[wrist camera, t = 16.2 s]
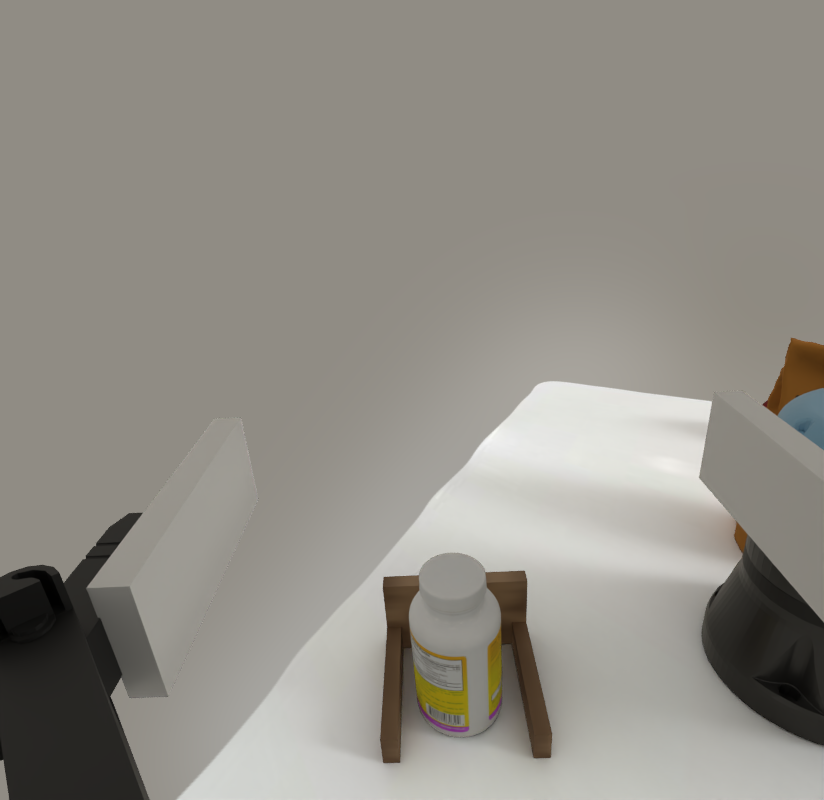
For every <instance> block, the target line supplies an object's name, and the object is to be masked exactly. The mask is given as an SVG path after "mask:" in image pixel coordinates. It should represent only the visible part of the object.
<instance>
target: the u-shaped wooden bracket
mask: <svg viewBox="0 0 824 800" xmlns="http://www.w3.org/2000/svg"><path fill="white" fill-rule="evenodd" d="M486 584H487V588H488V589H489V590H490V591H491V592H492V594H493V595H494V596H495V598H496V599H497V601H498V604H499V607H500V611H501V644H512V648H513V653H514V658H515V664H516V669H517V674H518V679H519V684H520V690H521V695H522V700H523V705H524V710H525V716H526V721H527V726H528V731H529V736H530V742H531V747H532V752H533V757H534V758H551V744H552V732H551V727H550V723H549V719H548V714H547V710H546V706H545V701H544V697H543V693H542V688H541V684H540V680H539V675H538V671H537V667H536V662H535V658H534V654H533V649H532V645H531V641H530V637H529V632H528V628H527V624H526V608H527V578H526V574H525V571H509V572H486ZM418 591H419V575H417V576H394V577H384V580H383V592H384V601H385V611H386V620H387V641H386V657H385V673H384V689H383V705H382V722H381V738H380V741H381V749H382V756H383V763H400V748H401V711H402V675H403V648H412V643H411V634H410V626H409V610H410V605H411V603H412V600H413V598H414V597H415V595H416V594H417V593H418Z"/></svg>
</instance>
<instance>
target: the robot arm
mask: <svg viewBox="0 0 824 800" xmlns="http://www.w3.org/2000/svg"><path fill="white" fill-rule="evenodd" d="M699 478H700V479H701V481H702V482H703V483H704V484H705V485H706V486H707V488H708V489H709V490H710V491H711V492H712V493H713V494H714V496H715V497H716V498H717V499H718V500H719V501H720V503H721V504H722V505H723V506H724V507H725V508H726V510H727V511H728V512H729V513H730V514H731V515H732V517H733V518H734V519H735V520H736V521H737V522H738V523H739V525H740V526H741V527H742V528H743V529H744V530H745V532H746V533H747V538H746V543H745V547H744V551H743V556H742V559H741V560H740V561H739V562H738V564H737V565H736V567H735V568H734V570H733V571H732V573H731V574H730V576H729V577H728V578H727V580H726V581H725V583H723V584H722V585H721V586H719V587H718V588H717V590H716V591H715V592H714V593H713V594H712V596H711V598H710V600H709V602H708V604H707V607H706V611H705V616H704V620H703V625H702V642H703V646H704V649H705V652H706V655H707V657H708V659H709V661H710V663H711V665H712V666H713V668H714V670H715V671H716V672H717V674H718V675H719V677H720V678H721V679H722V680H723V682H724V683H725V684H726V685H727V686H728V687H729V688H730V689H731V690H732V691H733V692H734V693H735V694H736V695H737V696H738V697H739V698H740V699H741V700H742V701H744V702H745V703H746V704H747V705H748V706H750V707H751V708H752V709H754V710H755V711H756V712H758V713H759V714H761V715H762V716H763V717H765V718H767V719H768V720H770V721H771V722H773V723H775V724H776V725H778V726H780V727H782V728H784V729H786V730H788V731H790V732H792V733H794V734H796V735H798V736H800V737H803V738H805V739H808V740H810V741H813V742H816V743H819V744H822V745H824V388H821V389H817V390H813V391H810V392H807V393H804V394H802V395H800V396H798V397H796V398H794V399H793V400H791V401H790V402H789V403H787V404H786V405H785V406H784V407H783V408H782V410H781V411H780V412H779V414H778V416H777V415H775V414H774V413H772V412H771V411H770V410H768V409H767V408H766V407H764V406H763V405H762V404H760V403H759V402H758V401H756V400H755V399H753V398H752V397H750V396H749V395H748V394H747V393H745V392H744V391H723V392H714V396H713V401H712V407H711V413H710V418H709V424H708V430H707V435H706V441H705V447H704V453H703V458H702V464H701V470H700V475H699ZM257 501H258V496H257V491H256V486H255V482H254V477H253V472H252V467H251V463H250V458H249V453H248V448H247V444H246V439H245V434H244V429H243V425H242V420H241V417H239V418H223V419H214V420H213V421H212V422H211V424H210V425H209V426H208V428H207V429H206V430H205V432H204V433H203V434H202V436H201V437H200V438H199V440H198V441H197V442H196V444H195V445H194V446H193V448H192V449H191V450H190V452H189V453H188V454H187V456H186V457H185V458H184V460H183V461H182V462H181V464H180V465H179V466H178V468H177V469H176V470H175V471H174V473H173V474H172V475H171V477H170V478H169V479H168V481H167V482H166V483H165V485H164V486H163V487H162V489H161V490H160V491H159V493H158V494H157V495H156V497H155V498H154V499H153V501H152V502H151V503H150V505H149V506H148V507H147V508H146V510H145V511H144V512H143V513H129V514H127V515H126V516H125V517H124V518H122V519H120V520H119V521H118V522H116V523H115V524H113V525H112V526H111V527H109V528H108V530H107V531H106V532H105V534H104V535H103V536H102V537H101V538H100V539H99V541H98V542H97V543H96V546H94V547H93V548H92V549H91V550H90V552H89V553H88V554H87V555H86V559H84V560H82V561H81V563H80V564H79V565H78V566H77V568H76V569H75V570H74V571H73V572H72V574H71V575H70V576H69V577H68V579H67V580H66V581H65V582H64V583H63V581H62V578H61V576H60V574H59V572H58V571H57V570H56V569H55V568H54V567H51V566H45V565H39V566H38V565H37V566H29V567H25V568H22V569H19V570H16V571H13V572H10V573H8V574H6V575H4V576H2V577H0V760H3V759H4V766H5V773H6V780H7V786H8V793H9V800H149V797H148V794H147V792H146V789H145V786H144V784H143V781H142V778H141V776H140V773H139V771H138V768H137V765H136V762H135V760H134V757H133V754H132V752H131V749H130V746H129V744H128V741H127V738H126V736H125V733H124V731H123V728H122V725H121V722H120V720H119V717H118V714H117V712H116V709H115V707H114V704H113V702H112V699H111V697H110V696H111V694H112V692H113V690H114V689H115V687H116V685H117V683H118V682H119V680H120V678H122V680H123V683H124V685H125V688H126V690H127V693H128V696H129V698H144V697H168V696H169V694H170V692H171V690H172V688H173V685H174V683H175V681H176V679H177V677H178V674H179V672H180V670H181V668H182V666H183V664H184V661H185V659H186V657H187V655H188V652H189V650H190V648H191V646H192V644H193V642H194V639H195V637H196V635H197V633H198V631H199V628H200V626H201V624H202V622H203V619H204V617H205V615H206V613H207V611H208V609H209V606H210V604H211V602H212V600H213V598H214V595H215V593H216V591H217V589H218V586H219V584H220V582H221V580H222V578H223V576H224V573H225V571H226V569H227V567H228V564H229V562H230V560H231V558H232V556H233V554H234V551H235V549H236V547H237V545H238V543H239V540H240V538H241V536H242V534H243V531H244V529H245V527H246V525H247V523H248V521H249V518H250V516H251V514H252V512H253V510H254V507H255V505H256V503H257Z"/></svg>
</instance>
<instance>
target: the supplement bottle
mask: <svg viewBox="0 0 824 800" xmlns="http://www.w3.org/2000/svg"><path fill="white" fill-rule="evenodd" d="M409 626H410V634H411V643H412V653H413V663H414V674H415V683H416V692H417V700H418V705H419V708H420V711H421V713H422V715H423V717H424V718H425V720H426V721H427V722H428V724H429V725H431V726H432V727H433V728H434V729H436V730H437V731H439V732H441V733H443V734H445V735H448V736H452V737H469V736H473V735H476V734H478V733H481V732H483V731H484V730H486V729H487V728H488V727H489V726H490V725H491V724H492V723H493V722H494V721H495V719H496V718H497V716H498V714H499V711H500V708H501V704H502V660H501V611H500V607H499V604H498V601H497V599H496V598H495V596H494V595H493V594H492V592H491V591H490V590H489V589H488V588H487V584H486V573H485V570H484V568H483V566H482V565H481V564H480V563H479V562H478V561H477V560H476V559H474V558H472V557H470V556H468V555H465V554H460V553H445V554H441V555H437V556H435V557H433V558H431V559H430V560H428V561H427V562H426V563H425V564H424V565H423V566H422V568H421V570H420V573H419V591H418V593H417V594H416V595H415V597H414V598H413V600H412V603H411V605H410V610H409Z"/></svg>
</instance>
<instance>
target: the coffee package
mask: <svg viewBox="0 0 824 800" xmlns="http://www.w3.org/2000/svg"><path fill="white" fill-rule="evenodd" d="M785 358H786V359H785V366H784V367H783V368H782V369H781V372H780V376H779V377H778V379H777V381H776V384H775V386H774V389H773V391H772V393H771V394H770V396H769V398H768V405H767V407H766V408H767V409H768V410H770V411H771V412H772V413H774V414H775V415H777V416H778V414H779V412H780V411H781V410H782V408H783V407H784V406H785V405H786V404H787V403H789V402H790V401H791V400H793V399H794V398H796V397H798V396H800V395H802V394H804V393H807V392H810V391H813V390H817V389H821V388H824V345H820V344H817V343H813V342H804V341H801V340H797V339H795V338H791V343H790V344H789V347H788V351H787V354H786V357H785ZM736 522H737V521H736ZM734 538H735V540H736V542H737V543H738V546H739V548H740V550H741V551H742V553H743V551H744V547H745V543H746V538H747V533H746V532H745V530H744V529H743V528H742V527H741V526H740V525H739V523H738V522H737V524H736V530H735V534H734Z"/></svg>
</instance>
